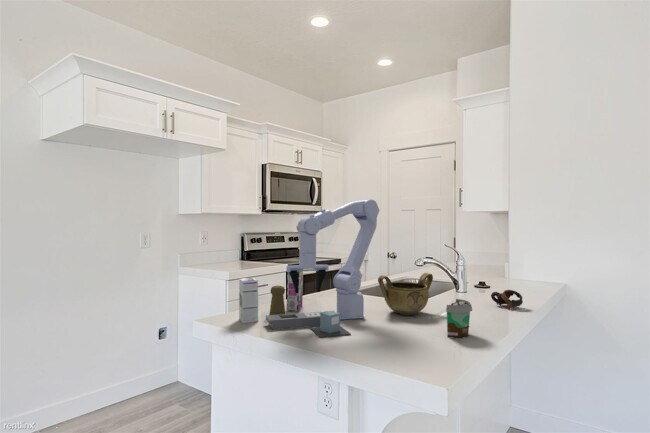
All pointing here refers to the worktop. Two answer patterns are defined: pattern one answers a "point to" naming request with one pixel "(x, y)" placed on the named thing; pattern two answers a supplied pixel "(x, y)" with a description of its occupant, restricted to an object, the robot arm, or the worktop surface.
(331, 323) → the block
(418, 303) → the ceramic bowl
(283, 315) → the power strip
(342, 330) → the mat
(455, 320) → the food container
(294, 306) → the candy bar box
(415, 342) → the worktop surface
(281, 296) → the tan rounded upright piece
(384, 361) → the worktop surface
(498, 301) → the dark brown looped piece
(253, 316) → the syrup box
